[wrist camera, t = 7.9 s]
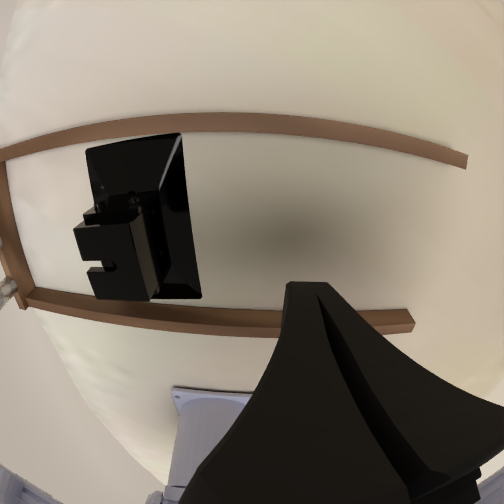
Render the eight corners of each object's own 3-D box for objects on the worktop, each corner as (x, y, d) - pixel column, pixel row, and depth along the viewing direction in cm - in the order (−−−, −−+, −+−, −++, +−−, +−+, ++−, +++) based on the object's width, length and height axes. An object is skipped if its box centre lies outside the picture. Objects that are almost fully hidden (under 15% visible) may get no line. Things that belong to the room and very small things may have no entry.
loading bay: (403, 317, 16) (431, 370, 12) (30, 293, 16) (-3, 332, 12) (451, 150, 11) (514, 172, 7) (-4, 151, 11) (-56, 172, 6)
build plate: (78, 126, 11) (22, 136, 7) (203, 99, 11) (177, 89, 7) (121, 310, 17) (95, 358, 13) (223, 312, 17) (216, 370, 13)
